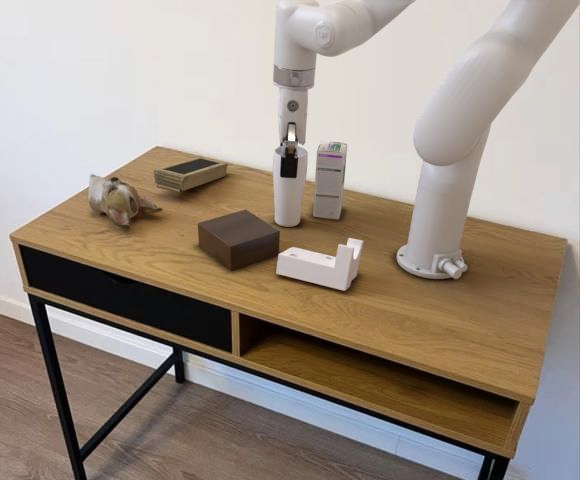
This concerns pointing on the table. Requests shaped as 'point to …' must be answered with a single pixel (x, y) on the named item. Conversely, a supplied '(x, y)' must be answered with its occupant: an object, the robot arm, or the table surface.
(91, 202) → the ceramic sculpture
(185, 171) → the box
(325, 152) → the syrup box
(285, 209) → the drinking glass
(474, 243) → the table surface
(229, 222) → the walnut block
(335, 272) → the bracket
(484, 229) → the table surface
